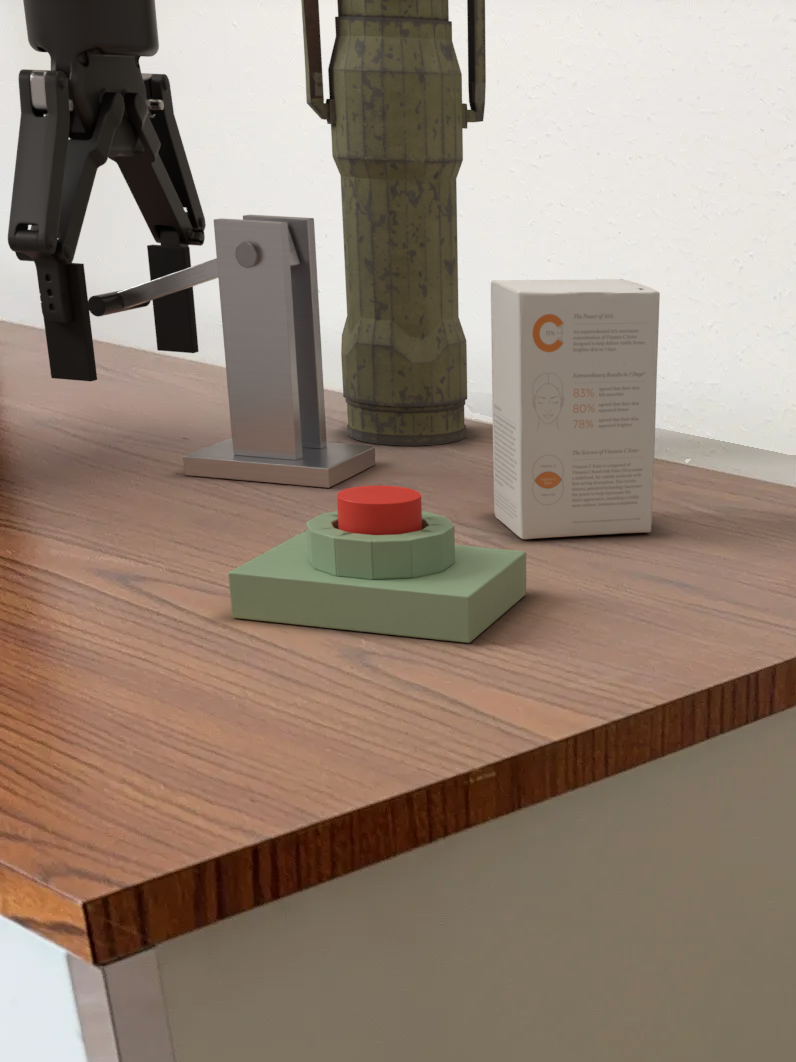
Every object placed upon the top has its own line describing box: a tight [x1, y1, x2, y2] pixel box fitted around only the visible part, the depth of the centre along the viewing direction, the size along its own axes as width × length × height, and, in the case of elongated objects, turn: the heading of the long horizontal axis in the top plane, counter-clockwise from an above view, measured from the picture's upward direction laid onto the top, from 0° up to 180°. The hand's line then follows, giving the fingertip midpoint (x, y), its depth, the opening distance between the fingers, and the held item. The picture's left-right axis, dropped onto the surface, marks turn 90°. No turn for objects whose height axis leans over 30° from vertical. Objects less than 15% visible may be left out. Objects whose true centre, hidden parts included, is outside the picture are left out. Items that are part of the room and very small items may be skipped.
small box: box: [490, 278, 661, 540], centre depth 94 cm, size 8×6×13 cm
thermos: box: [300, 0, 487, 447], centre depth 111 cm, size 9×12×35 cm
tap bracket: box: [182, 214, 377, 489], centre depth 105 cm, size 10×8×15 cm
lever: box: [88, 229, 300, 318], centre depth 103 cm, size 13×6×2 cm, turn 76°
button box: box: [227, 510, 527, 644], centre depth 80 cm, size 12×9×4 cm
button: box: [336, 485, 423, 535], centre depth 79 cm, size 4×4×2 cm
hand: (129, 365), depth 107 cm, fingers open, 13 cm apart
